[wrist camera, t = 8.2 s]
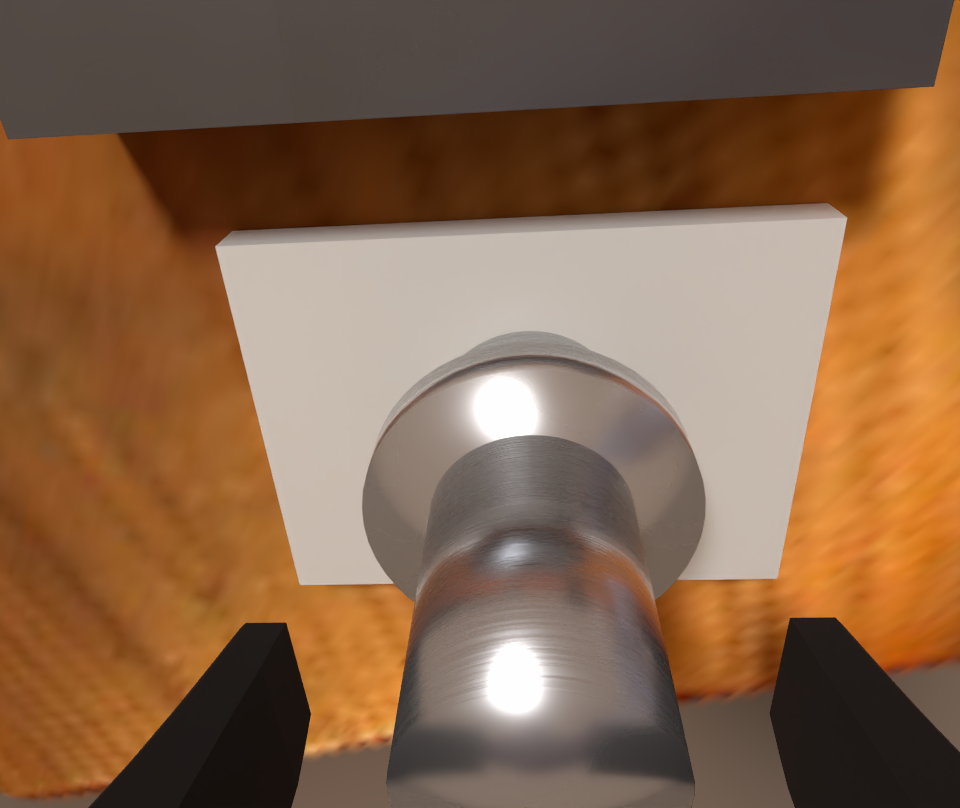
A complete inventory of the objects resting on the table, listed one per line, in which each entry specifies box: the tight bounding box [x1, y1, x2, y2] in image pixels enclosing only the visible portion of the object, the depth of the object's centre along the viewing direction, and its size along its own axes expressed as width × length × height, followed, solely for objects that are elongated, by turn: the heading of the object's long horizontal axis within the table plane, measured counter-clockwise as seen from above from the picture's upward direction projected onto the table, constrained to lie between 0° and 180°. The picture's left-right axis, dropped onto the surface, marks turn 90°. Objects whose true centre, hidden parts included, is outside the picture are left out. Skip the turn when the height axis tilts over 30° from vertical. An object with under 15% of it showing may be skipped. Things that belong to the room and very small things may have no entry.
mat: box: [215, 203, 847, 585], centre depth 17 cm, size 12×9×1 cm
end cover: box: [362, 331, 706, 808], centre depth 12 cm, size 6×6×9 cm
